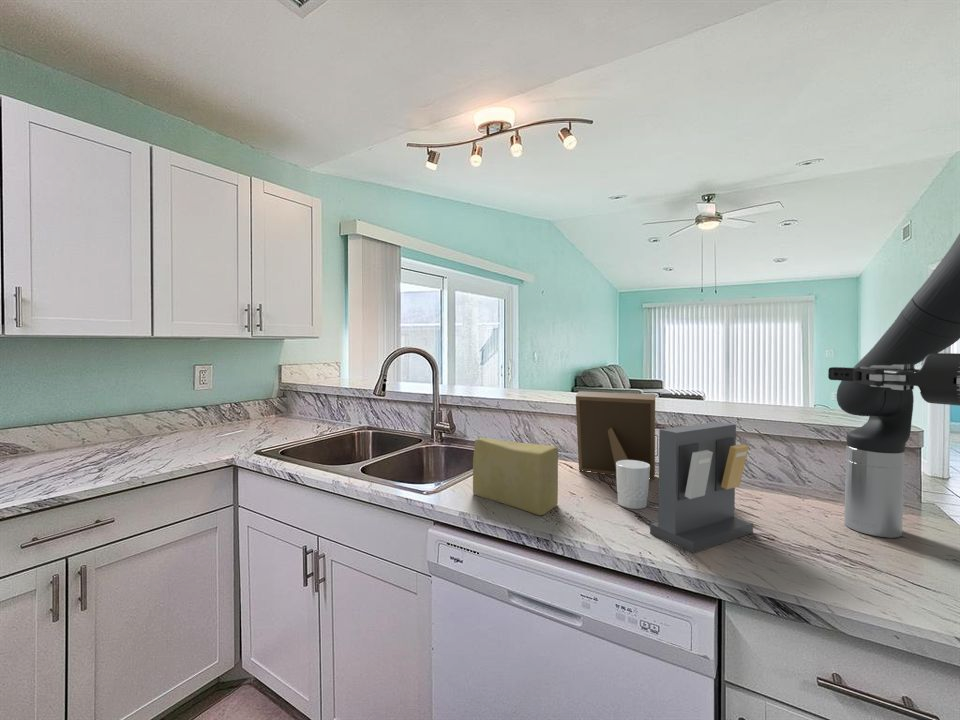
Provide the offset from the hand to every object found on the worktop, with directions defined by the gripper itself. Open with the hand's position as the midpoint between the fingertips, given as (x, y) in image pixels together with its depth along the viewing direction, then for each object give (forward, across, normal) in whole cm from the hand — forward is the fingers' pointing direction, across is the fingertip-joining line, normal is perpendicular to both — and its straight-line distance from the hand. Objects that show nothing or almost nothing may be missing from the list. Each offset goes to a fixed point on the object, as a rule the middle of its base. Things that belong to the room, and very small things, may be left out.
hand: (830, 373), depth 79 cm
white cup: (+38, +7, +34) cm, 52 cm away
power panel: (+19, +8, +34) cm, 40 cm away
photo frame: (+56, -5, +34) cm, 66 cm away
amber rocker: (+16, +2, +24) cm, 30 cm away
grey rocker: (+16, +13, +24) cm, 32 cm away
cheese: (+54, +32, +34) cm, 72 cm away
